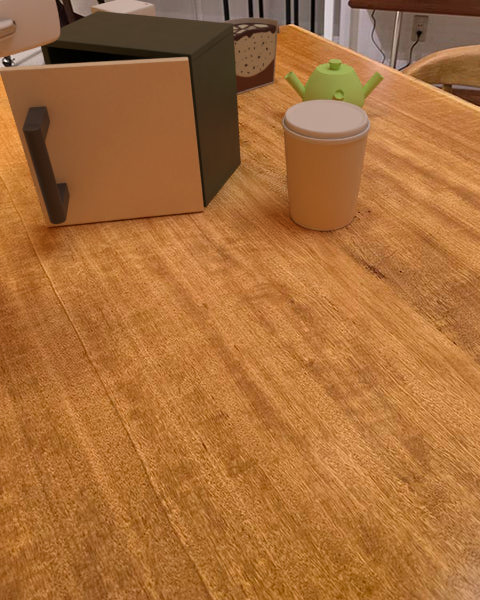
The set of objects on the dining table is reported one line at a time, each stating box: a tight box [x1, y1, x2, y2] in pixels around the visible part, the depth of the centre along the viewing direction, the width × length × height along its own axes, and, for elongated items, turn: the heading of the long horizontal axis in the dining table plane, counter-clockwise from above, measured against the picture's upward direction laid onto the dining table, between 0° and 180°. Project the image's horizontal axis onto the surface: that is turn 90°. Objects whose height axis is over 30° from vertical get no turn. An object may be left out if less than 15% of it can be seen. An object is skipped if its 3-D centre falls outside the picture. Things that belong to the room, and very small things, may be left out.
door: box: [0, 57, 205, 228], centre depth 60 cm, size 7×18×17 cm, turn 103°
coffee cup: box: [281, 100, 371, 232], centre depth 66 cm, size 9×9×12 cm
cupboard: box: [40, 11, 242, 208], centre depth 71 cm, size 12×18×18 cm
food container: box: [221, 17, 281, 96], centre depth 99 cm, size 12×6×10 cm, turn 135°
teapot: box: [284, 58, 385, 109], centre depth 90 cm, size 11×12×8 cm
